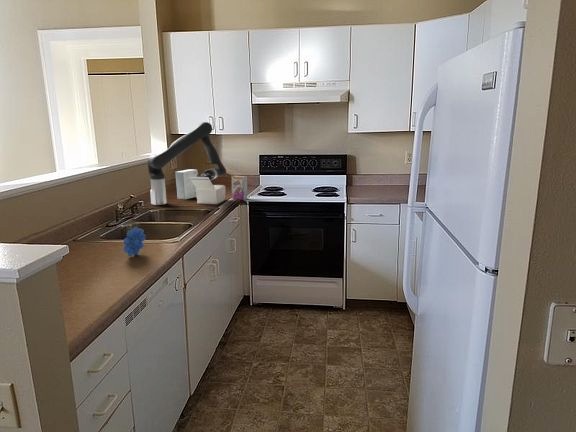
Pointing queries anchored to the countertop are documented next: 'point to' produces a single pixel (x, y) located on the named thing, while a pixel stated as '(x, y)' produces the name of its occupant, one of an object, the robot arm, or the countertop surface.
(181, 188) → the hard drive box
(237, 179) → the candy bar box
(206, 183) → the flap
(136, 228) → the grapes
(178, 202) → the countertop surface
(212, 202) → the carton
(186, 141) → the robot arm
